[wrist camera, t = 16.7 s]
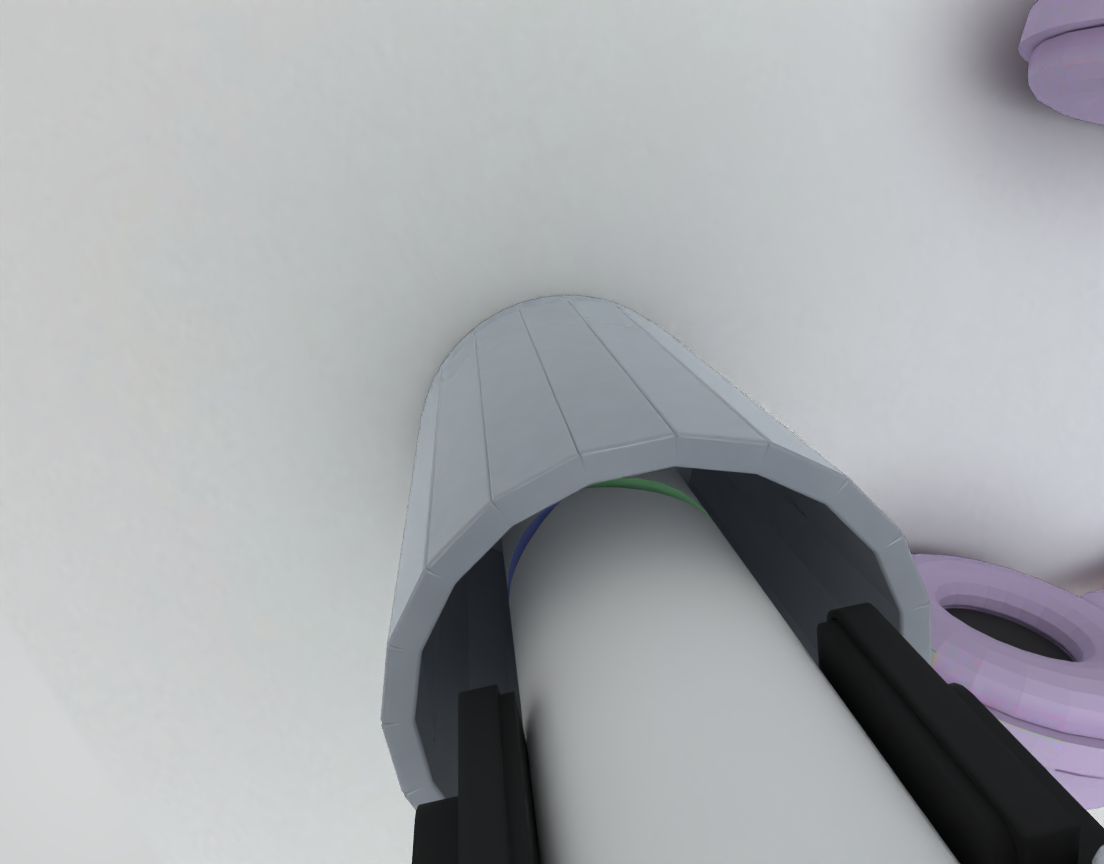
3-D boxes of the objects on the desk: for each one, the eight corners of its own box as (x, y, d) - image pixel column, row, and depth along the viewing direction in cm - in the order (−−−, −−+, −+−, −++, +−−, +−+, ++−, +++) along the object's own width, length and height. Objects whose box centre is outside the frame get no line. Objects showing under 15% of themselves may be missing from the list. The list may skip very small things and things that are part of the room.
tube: (683, 508, 21) (1170, 1252, 6) (537, 575, 21) (704, 1444, 7) (622, 368, 19) (1082, 933, 5) (466, 440, 19) (486, 1187, 5)
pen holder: (455, 588, 24) (452, 958, 13) (389, 327, 21) (311, 508, 10) (716, 532, 25) (934, 844, 13) (685, 268, 22) (930, 380, 10)
